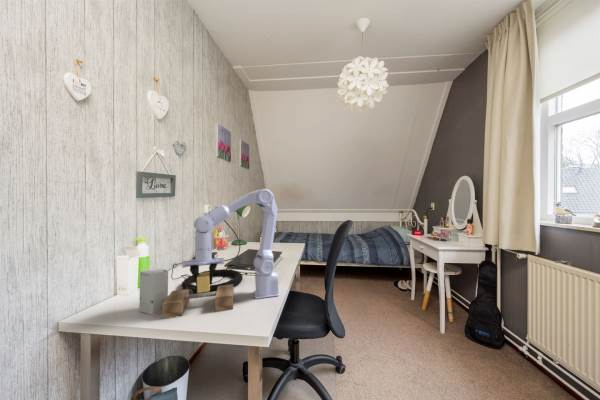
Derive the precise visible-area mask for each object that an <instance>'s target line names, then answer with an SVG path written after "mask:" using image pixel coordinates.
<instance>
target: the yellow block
mask: <svg viewBox="0 0 600 400" xmlns="http://www.w3.org/2000/svg"><path fill="white" fill-rule="evenodd" d="M209 280H210V273H209V272H205V273H201V272H199V275H198V277H197V290H198V293H200V292H207V291H210V286H211V285H210V283H209Z"/></svg>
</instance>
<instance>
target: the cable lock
mask: <svg viewBox="0 0 600 400" xmlns="http://www.w3.org/2000/svg"><path fill="white" fill-rule="evenodd" d="M205 272H209V270H205V271H200V273H205ZM223 275H226V276H225V277H230V278H233V279H230V280H228V281H226V282H220V283H217V284H212V285H211V286H210V291H207V292H214V291H217V288H218V286H222V285H231V284H233V287H234V288H236V287H237V286H239V285H240V284H241V283H242V281H243V277H244V276H243V274H242V273H241V272H240V271H238V270H234V269H230V268H229V269H226V268H224V269H222V268H221V269H215V271H214V274H213V278H214V277H215V278H216V277H224V276H223ZM193 283H196V282H195V279H194V277H193V275H192V274H191V275H190V276H189V275H188V277H187V278H185V279H184V280H183V281H182V282H181V290H186V289H189V294H197V293H198V290H197V286H196V284H193ZM200 293H206V292H200Z"/></svg>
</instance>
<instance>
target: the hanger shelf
mask: <svg viewBox="0 0 600 400" xmlns="http://www.w3.org/2000/svg"><path fill="white" fill-rule="evenodd" d="M234 289H235V288H233V284H231V285H222V286H218V288H217V291H214V292H206V293H197V294H189V289H186V290H183V289H178V290H172V291H171V292H170V293H169V294H168V297H167V299H166V300H165V301H164V303H163V304H162V306H163V311H162V319H163V318H164V319H169V318H170V317H171V318H176V316H179V317H182V316H183V315H184V313H185V311H186V309H187V307H188V305H189V303H190V300H192V299H199V298H200V299H201V298H206V297H207V298H208V297H215V298H214V301H215V302H214V305H215V306H214V307H215V312H222V311H228V310H233V309H234V300H235V299H234V297H235V296H234V295H235V294H234V293H235V291H234ZM171 318H170V319H171Z"/></svg>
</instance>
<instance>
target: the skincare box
mask: <svg viewBox="0 0 600 400" xmlns="http://www.w3.org/2000/svg"><path fill="white" fill-rule="evenodd" d="M168 296H169V270H167V269H164V268H162V267H161V268H159V267H150V268H148V269H143V270H140V271H139V304H138V305H139V308H138V309H139V310H138V311H139V312H141V313H143V314H144V313H145V314H148V315H150V316H155V315H157V314H160V313H163V306H162V304H163V303H164V301H165V300H166V299H167V297H168ZM159 312H160V313H159Z"/></svg>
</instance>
